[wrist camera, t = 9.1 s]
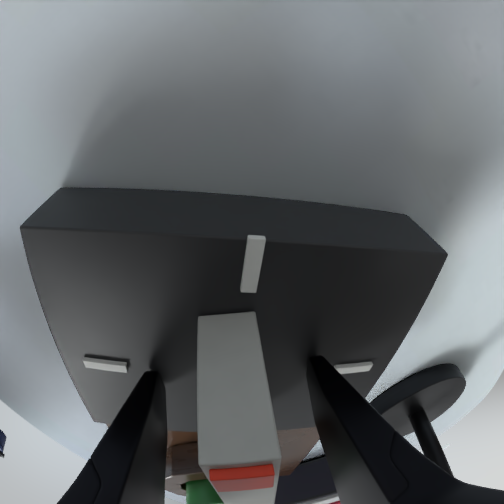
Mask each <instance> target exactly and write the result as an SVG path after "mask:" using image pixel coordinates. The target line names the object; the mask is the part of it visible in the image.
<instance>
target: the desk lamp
mask: <svg viewBox="0 0 504 504" xmlns="http://www.w3.org/2000/svg"><path fill="white" fill-rule="evenodd" d="M465 386H466V381H465V378H464V377H463V375H462V373H461V372H460V370H459V368H458V367H457V366H455V365H453V364H443V365H438V366H434V367H431V368H428V369H426V370H423V371H421V372H419V373H417V374H415V375H412V376H411V377H409V378H407V379H405V380H403V381H401V382H400V383H398V384H396V385H395V386H393V387H391V388H390V389H388V390H387V391H386V392H384V393H383V394H381V395H380V396H379V397H377V398H376V399H375V400H374V401H373V402H371V403H370V404H371V405H372V406H373V407H374V408H375V409H376V411H377V412H378V413H379V414H380V415H381V416H382V417H383V418H384V419H385V420H386V421H387V422H388V423H389V424H390V425H391V426H392V427H393V428H394V429H395V431H398V432H399V433H400V434H401V435H402V436H405V435H407V434H409V433H412V432H415V434H416V436H417V439H418V441H419V444H420V446H421V448H422V451H423V453H424V456H426V457H427V458H428V459H430V460H431V461H432V462H434V463H435V464H436V465H438V466H439V467H440V468H442V469H443V470H444V471H446V472H447V473H449V474H450V475H451V476H453V474H452V471H451V469H450V466H449V464H448V462H447V459H446V457H445V455H444V452H443V450H442V448H441V445H440V443H439V441H438V439H437V436H436V434H435V432H434V430H433V427H432V425H431V423H430V422H431V421H433V420H434V419H436V418H437V417H439V416H440V415H441V414H443V413H444V412H445V411H446V410H447V409H448V408H450V407H451V406H452V405H453V404H454V403H455V402H456V400H457V399H458V398H459V397H460V395H461V394H462V392H463V391H464V389H465ZM453 477H454V476H453Z"/></svg>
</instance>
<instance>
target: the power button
mask: <svg viewBox="0 0 504 504" xmlns="http://www.w3.org/2000/svg"><path fill="white" fill-rule="evenodd" d="M186 504H224V502H223V501H222V499H221V498H220V496H219V495H218V494H217V492H216V491H215V489H214V488H213V486H212V485H211V483H210V482H209V480H208V479H202V480H193V481H188V482H186Z"/></svg>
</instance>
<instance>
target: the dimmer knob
mask: <svg viewBox="0 0 504 504" xmlns="http://www.w3.org/2000/svg"><path fill="white" fill-rule="evenodd" d="M197 430H198V464H199V466H200V467H201V469H202V471H203V472H204V474H205V475H206V477H207V478H208V480H209V482H210V483H211V485H212V486H213V488H214V489H215V491H216V492H217V494H218V495H219V496H220V498H221V499H222V501H223V502H224V504H274V503H275V497H276V491H277V484H278V478H279V471H280V465H281V458H282V456H281V451H280V445H279V440H278V435H277V429H276V424H275V418H274V413H273V407H272V402H271V396H270V391H269V385H268V380H267V374H266V369H265V363H264V358H263V352H262V346H261V341H260V335H259V330H258V324H257V318H256V313H255V312H254V311H251V312H241V313H230V314H219V315H207V316H199V317H198V336H197Z"/></svg>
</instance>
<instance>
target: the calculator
mask: <svg viewBox="0 0 504 504" xmlns="http://www.w3.org/2000/svg"><path fill="white" fill-rule="evenodd" d="M278 479H279V480H278V484H277V491H276V497H275V503H274V504H341V503H340V500H339V497H338V494H337V490H336V487H335V484H334V481H333V478H332V475H331V472H330V468H329V465H328V462H327V459H326V456H325V457H322V458H319V459H316V460H312V461H309V462H305V463H302V464H299V465H298V466H297V467H296V468H295V470H294V471H293V472H292V473H291V474H290V475H287V476H279V478H278Z"/></svg>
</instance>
